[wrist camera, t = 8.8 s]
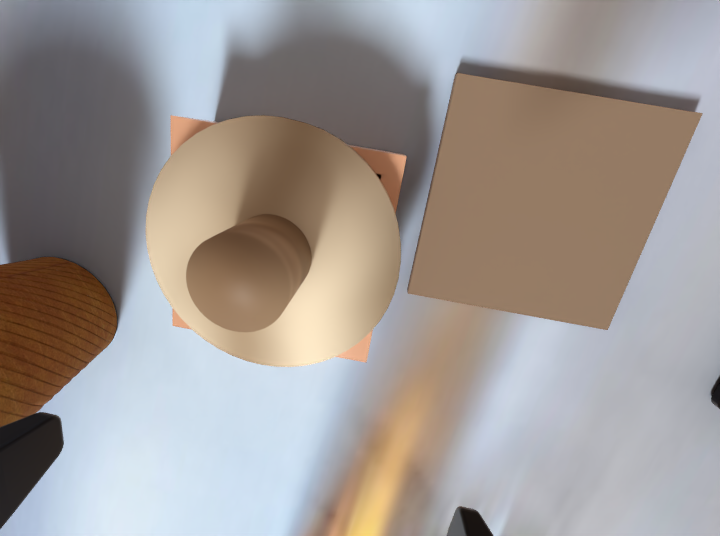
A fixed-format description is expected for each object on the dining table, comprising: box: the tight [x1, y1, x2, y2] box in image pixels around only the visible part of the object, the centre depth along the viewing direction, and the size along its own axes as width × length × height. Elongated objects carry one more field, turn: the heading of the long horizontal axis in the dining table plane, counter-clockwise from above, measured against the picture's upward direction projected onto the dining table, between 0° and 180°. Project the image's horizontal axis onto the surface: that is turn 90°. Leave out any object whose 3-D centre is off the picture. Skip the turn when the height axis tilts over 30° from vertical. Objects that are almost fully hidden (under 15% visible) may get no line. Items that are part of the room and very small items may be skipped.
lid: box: [146, 115, 401, 367], centre depth 13 cm, size 10×10×4 cm
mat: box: [407, 73, 702, 330], centre depth 17 cm, size 10×10×1 cm
